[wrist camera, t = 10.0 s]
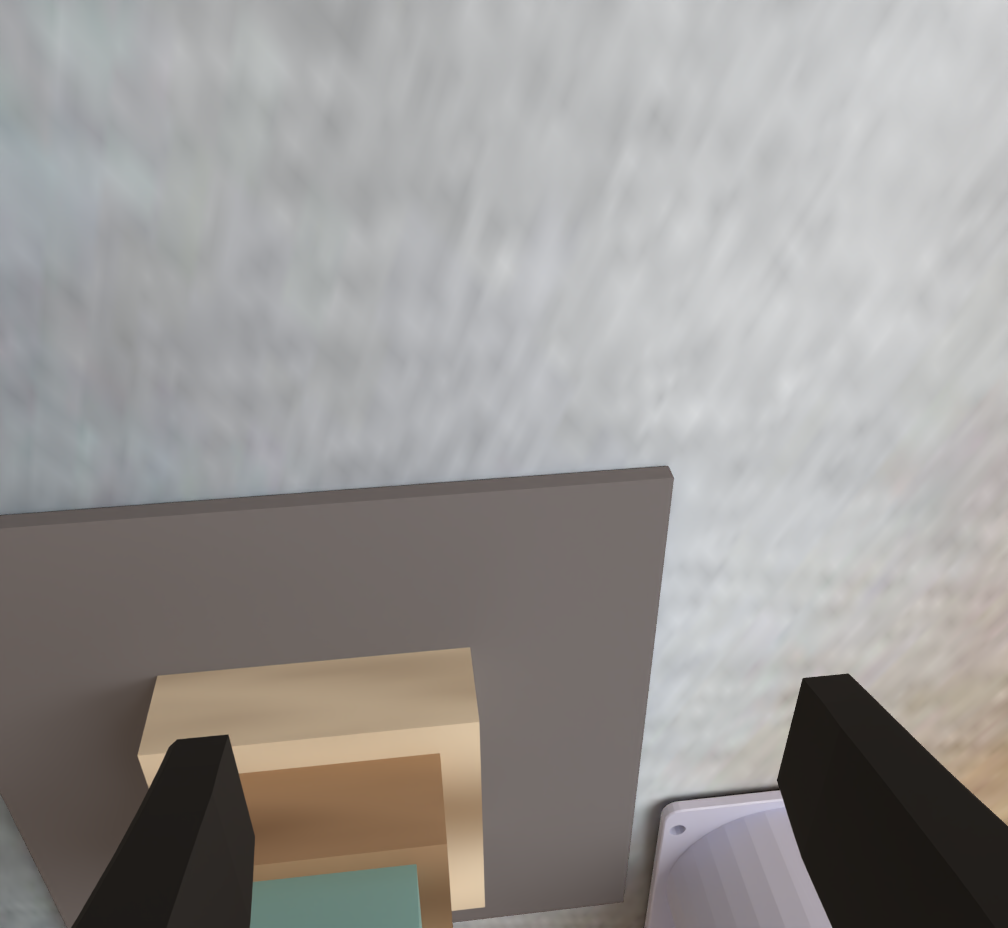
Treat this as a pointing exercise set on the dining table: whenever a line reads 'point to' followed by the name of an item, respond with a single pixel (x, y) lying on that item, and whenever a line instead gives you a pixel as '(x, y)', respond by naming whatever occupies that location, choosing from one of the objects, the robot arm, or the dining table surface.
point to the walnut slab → (354, 823)
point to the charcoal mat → (347, 650)
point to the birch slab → (342, 728)
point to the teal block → (340, 900)
